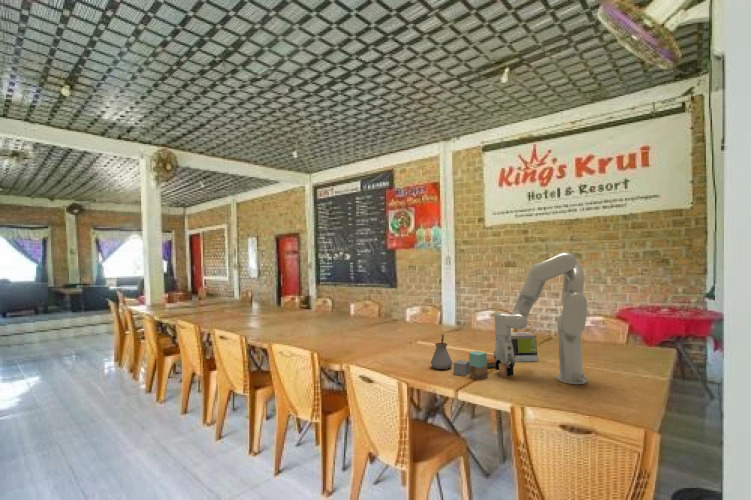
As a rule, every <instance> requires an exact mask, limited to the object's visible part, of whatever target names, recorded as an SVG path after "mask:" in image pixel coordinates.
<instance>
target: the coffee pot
mask: <svg viewBox="0 0 751 500" xmlns="http://www.w3.org/2000/svg"><path fill="white" fill-rule="evenodd" d="M440 337H441V339H440V340H441V342H436V343H434V345H435V351H434V353H433V356H432V358H431V361H430V364H431V366H432V367H433V368H434V369H435V368H436V369H435V370H437V369H447V370H449V369H450V368H451V367H452V365H453V361H452V359H451V356H450V354H449V352H448V349H447V346H448V343H446V342H444V339H445V334H442V335H441V336H440ZM448 368H449V369H448Z"/></svg>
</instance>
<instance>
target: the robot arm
mask: <svg viewBox="0 0 751 500" xmlns="http://www.w3.org/2000/svg"><path fill="white" fill-rule="evenodd" d="M561 275H563V282H562V283H563V285H562V291H561V293H562V294H561V297H560V302H561V304H562V313H561V314H560V315H559V316H558V318H557V322H556V325H557V333H558V334H557V337H558V356H559V357H558V358H559V374H557V375H556V380H557V381H559V382H561V383H564V384H569V385H583V384H586V383H587V382H588V381H589V378H588V377H587V376H585V372H583V371H584V370H583V351H582V349H583V347H582V346H583V345H582V335H583V333H584V331H585V327H586V321H587V312H588V299H587V297H586V296H585V295H584V287H585V286H584V282H585V273H584V269H583V268H582V265H581V264H580V263H579V261H578V260H577V258H576V257H575V255H574V254H572V253H570V252H565V251H563V252H559V253H557V254H555V256H553V257H550V258H549V259H546V260H544V261H541V262H536V263H534V264H533V265H532V266H531V268H530V269H529V272H528V274H527V276H526V279H525V281H524V284H523V286H522V289H520V290H521V291H520V293H519V296H518V298H517V301H516V302H515V305H514V307H513V310H512V312H511V314H510V313H509V312H505V311H504V312H503V311H502V312H500V311H499V312H496V313H494V338H495V339H494V340H495V342H494V351H493V352H492V353H493V355H494V358H495V362H496V366H495V370H496V371H499V363H501V362H505V363H506V364H507V376H510V377H514V375H515V374H514V368H515V363H516V362H515V359H514V351H513V345H512V342H511V333H512V329H516V330H523V329H525V328H526V327H528V322H529V321H528V317H529V314H530V312H531V310H532V308H533V306H534V304H535V303H536V302H538V300H539V298H540V296H541V294H542V292H543V289H544V287H545V285H546V282H547V281H549V280H550V279H551V280H552V279H554V278H556V277H558V276H561Z"/></svg>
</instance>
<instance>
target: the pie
mask: <svg viewBox="0 0 751 500" xmlns="http://www.w3.org/2000/svg"><path fill="white" fill-rule="evenodd" d="M490 368H491V369H492V368H496V362H495V358H494V354H491V353H487V369H490Z"/></svg>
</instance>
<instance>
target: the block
mask: <svg viewBox="0 0 751 500" xmlns="http://www.w3.org/2000/svg"><path fill="white" fill-rule="evenodd" d="M454 374H456V375H455V376H460V375H463V376H462V377H467V376H468V375H470V365H469V360H461V359H457V360H456V361H454V362H453V375H454ZM467 374H468V375H467ZM466 375H467V376H466Z"/></svg>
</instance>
